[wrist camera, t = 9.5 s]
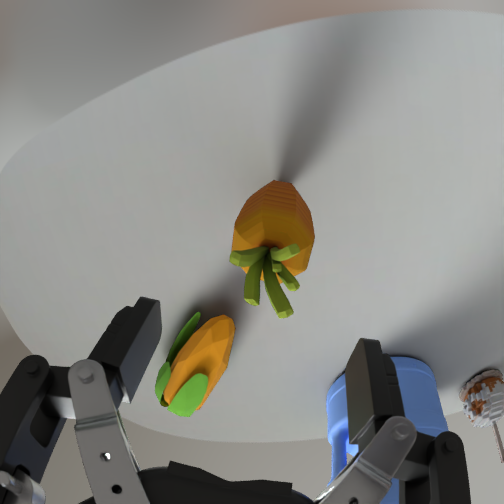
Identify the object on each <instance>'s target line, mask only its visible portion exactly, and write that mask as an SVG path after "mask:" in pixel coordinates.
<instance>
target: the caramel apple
mask: <svg viewBox="0 0 504 504" xmlns="http://www.w3.org/2000/svg"><path fill="white" fill-rule="evenodd" d="M502 380H503V378H502V373H500V372H499V370H496V371H495V370H494V369H493V370H489V371H486V372H483V373H482V375H478V376H476V377H475V378H474V379H472V380H471V381H470V382H467V385H466V386H465V387H463V388H462V390H461V392H460V394H459V397H460V400H461V401H463V402H464V404H463V405H464V408H463V410H464V414H466V415H467V418H469V420H470V422H472V425H473V426H475V427H477V426H479V427H481V428H483V427H488V426H491V425H492V428H493V432H494V435H495V439H496V442H497V446H498V450H499V454H500V458H501V462H502V463H504V449H503V446H502V441H501V438H500V435H499V431H498V428H497V425H496V423H497V422H498V421H499V420H500V419H501V418H502V417H503V415H504V382H503V381H502Z"/></svg>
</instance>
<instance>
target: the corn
mask: <svg viewBox="0 0 504 504" xmlns="http://www.w3.org/2000/svg"><path fill="white" fill-rule="evenodd" d="M200 316H201V313H200V312H197V313H196V314H195V315H194V316H193V317H192V318H191V319H190V320H189V322H188V323H187V324H186V325H185V326H184V328H183V329H182V330H181V331H180V333H179V334H178V336H177V338H176V340H175V342H174V344H173V346H172V348H171V349H170V352H169V354H168V357H167V360H166V362H165V363H164V364H163V366H162V367H161V369H160V370H159V373H158V376H157V380H156V385H155V393H156V395H157V398H158V400H159V402H160V404H161V405H162V406H164V407H167V406H169V407H168V409H167V410H169V411H171V412H173V413H175V414H177V415H178V416H185V417H190V416H191V414H192V413H193V412H194V411H195V410H198V409H200V408H201V406H202V405H203V404H204V402H205V401H206V399H207V398H208V396H209V394H210V393H211V391H212V390H213V388H214V387H215V385H216V384H217V382H218V381H219V379H220V377H221V376H222V374H223V373H224V371H225V370H226V368H227V365H228V361H229V356H230V352H231V347H232V342H233V338H234V333H235V329H236V328H235V325H234V322H233V319H231V318H229V317H227V316H225V315H224V314H223V315H220V316H217V317H214V318H211V319H210V320H208V321H207V322H206V323H205V324H204V325H203V326H202V327H200V328H199V329H198V330H197V331H196V332H195V333H194V334H193V332H194V330H195V328H196V325H197V323H198V321H199V319H200ZM162 393H163V394H162Z"/></svg>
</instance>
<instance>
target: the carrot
mask: <svg viewBox="0 0 504 504" xmlns="http://www.w3.org/2000/svg"><path fill="white" fill-rule="evenodd" d="M314 239H315V235H314V228H313V221H312V217H311V213H310V210H309V208H308V206H307V205H306V203H305V201H304V200H303V199H302V197H301V196H300V194H299V193H298V191H297V190H296V189H295V187H294V186H293V185H292V183H287V182H281V181H276V180H273V181H272V182H270V183H269V184H267V185H266V186H264V187H263V188H261V189H260V190H258V191H257V192H256V193H254V194H253V195H252V196H251V197H250V198H249V199H248V200H247V201H246V203H245V204H244V206H243V208H242V209H241V211H240V213H239V215H238V217H237V219H236V221H235V226H234V234H233V243H232V251H231V255H230V262H231V263H232V264H234V265H236V266H240V267H241V268H242V269H243V270H244V271H245V273H246V279H245V286H244V299H245V300H246V302H247V303H249V304H251V305H254V306H257V305H259V299H260V280H262V281H264V283H265V289H266V292H267V294H268V297H269V299H270V302H271V304H272V306H273V308H274V310H275V312H276V313H277V315H278V317H279V318H287V317H289V316H290V315H292V314H293V312H294V311H293V309H292V307H291V305H290V303H289V301H288V299H287V297H286V295H285V294H284V292H283V290H282V288H281V286H280V284H281V283H284V284H285V285H286V287H287V288H288V289H289V291H296V290H297V289H299V287H300V285H299V283H298V281H297V280H296V279H295V277H294V276H296V275H298V274H300V273H301V272H303V271H305V270H306V269H307V266H308V262H309V258H310V255H311V251H312V247H313V243H314Z"/></svg>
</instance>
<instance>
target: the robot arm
mask: <svg viewBox="0 0 504 504" xmlns="http://www.w3.org/2000/svg"><path fill="white" fill-rule="evenodd" d="M161 332H162V323H161V309H160V302H159V300H155V299H150V298H146V297H140V298H139V299H138V301H137V302H136V304H135V306H134V307H130V306H126V307H125V308H123V309H122V310H120V311H119V312H117V314H116V315H115V317H114V318H113V320H112V321H111V324H109V326H108V327H107V329H106V331H105V332H104V333H103V335H102V336H101V338H100V340H99V341H98V343H97V344H96V346H95V347H94V349H93V351H92V352H91V354H90V355H89V357H88V358H87V359H84V360H80V361H78V362H76V363H74V364H73V365H72V366H71V367H60V366H49V364H48V362H47V360H46V359H45V358H44V357H42V356H40V355H30V356H27V357H26V358H24V359H23V360H22V361H21V362H20V363H19V365H18V366H17V368H16V369H15V371H14V373H13V374H12V376H11V377H10V379H9V381H8V383H7V384H6V386H5V387H4V389H3V391H2V392H1V394H0V504H45V501H46V496H45V492H44V490H43V488H42V487H41V486H40V485H39V484H40V482H41V479H42V477H43V474H44V471H45V469H46V466H47V464H48V461H49V459H50V456H51V454H52V452H53V449H54V447H55V444H56V442H57V440H58V438H59V435H60V433H61V431H62V429H63V426H64V424H65V422H66V419H67V418H73V419H76V425H75V426H74V428H75V434H76V439H77V442H78V447H79V450H80V454H81V458H82V461H83V465H84V468H85V472H86V475H87V478H88V481H89V484H90V487H91V490H92V493H93V497H90V498H89V499H87V500H85V501H83V502H80V503H79V504H380V502H381V501H382V499H383V498H384V497H385V495H386V494H387V492H388V491H389V489H390V488H391V486H392V482H391V480H392V478H395V479H399V504H471V498H470V488H469V480H468V472H467V465H466V458H465V452H464V446H463V443H462V440H461V439H460V437H459V436H458V435H457V434H455V433H453V432H450V431H445V432H442V433H440V434H439V435H438V436H437V437H434V436H431V435H427V434H424V433H421V432H418V431H417V430H416V428H415V426H414V424H413V423H412V422H411V421H410V420H409V419H407V418H406V417H405V412H404V406H403V401H402V396H401V391H400V386H399V381H398V377H397V372H396V367H395V364H394V362H393V361H392V359H391V358H390V356H389V355H388V354H383V353H382V350H381V345H380V342H379V340H373V339H365V338H360V339H359V341H358V343H357V345H356V347H355V349H354V351H353V353H352V355H351V357H350V359H349V361H348V363H347V366H346V370H345V383H346V397H347V413H348V434H349V444H352V445H358V452H357V453H356V454H355V455H354V457H353V458H352V459H351V461H349V463H348V464H347V465H346V466H345V467H344V469H343V470H342V471H341V472H340V473H339V474H338V476H337V477H336V478H335V479H334V480H333V481H332V482H331V483H330V484H329V485H328V486H327V487H326V489H324V490H323V491H322V492H321V493H320V494H319V495H318V496H317V497H316V498H315V499H314V500H313V501H312V500H311V499H310V498H308V497H307V496H305V495H303V494H302V493H300V492H297V491H295V490H292V483H288V482H278V481H269V480H252V481H235V482H231V481H227V480H224V479H222V478H220V477H217V476H215V475H213V474H211V473H209V472H206V471H204V470H202V469H200V468H197V467H192V466H188V465H184V464H180V463H177V462H173V461H170V463H169V466H168V467H153V468H148V469H145V470H141V469H140V467H139V464H138V462H137V460H136V457H135V455H134V453H133V450H132V448H131V445H130V442H129V439H128V437H127V434H126V431H125V428H124V425H123V422H122V419H121V416H120V413H119V410H118V408H119V406H120V403H121V401H124V402H127V403H131V401H132V399H133V397H134V394H135V392H136V390H137V388H138V386H139V383H140V381H141V379H142V377H143V375H144V373H145V370H146V368H147V366H148V364H149V362H150V360H151V358H152V356H153V353H154V351H155V349H156V347H157V345H158V343H159V340H160V337H161Z"/></svg>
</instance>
